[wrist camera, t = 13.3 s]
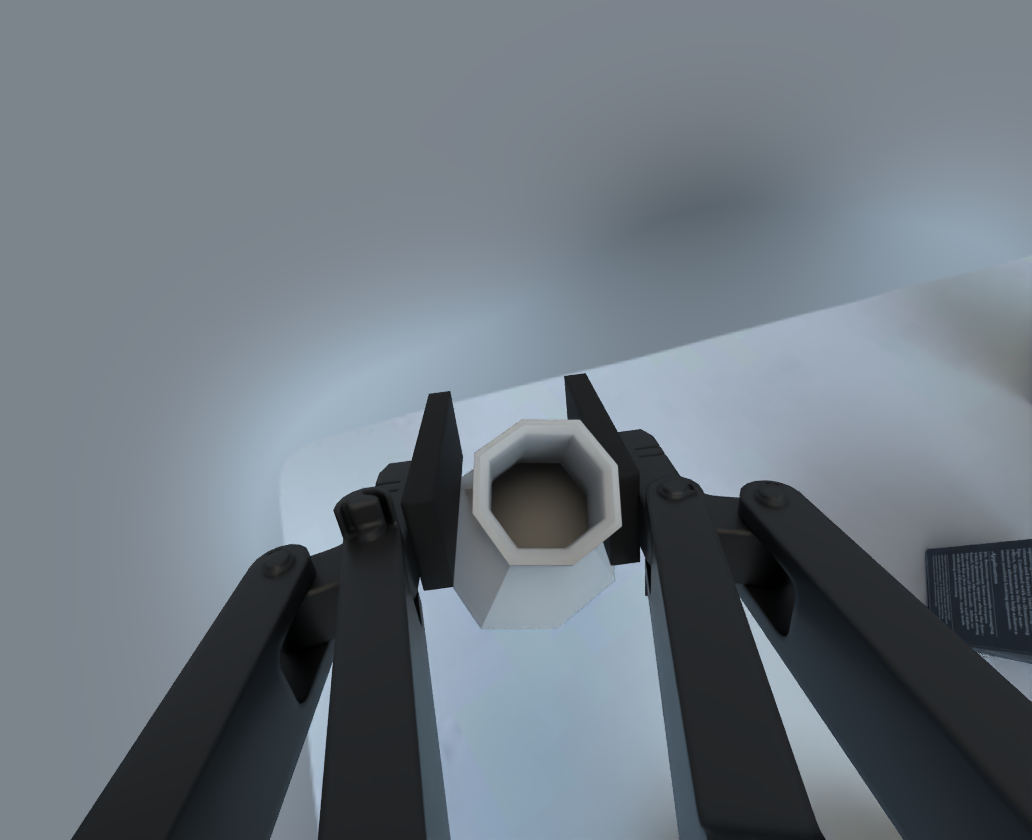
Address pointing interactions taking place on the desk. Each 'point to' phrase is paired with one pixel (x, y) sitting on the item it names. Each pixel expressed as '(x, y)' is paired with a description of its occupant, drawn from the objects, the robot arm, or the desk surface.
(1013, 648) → the box
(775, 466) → the desk surface
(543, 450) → the flask
